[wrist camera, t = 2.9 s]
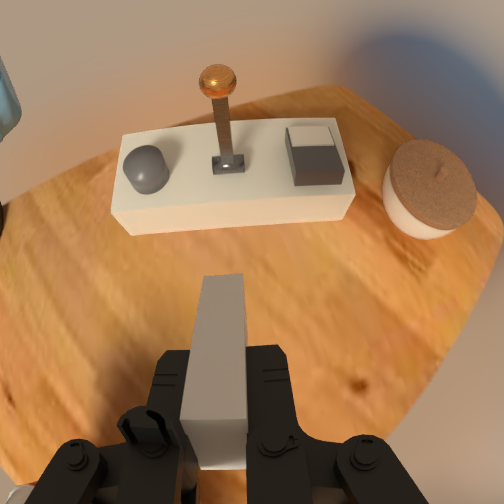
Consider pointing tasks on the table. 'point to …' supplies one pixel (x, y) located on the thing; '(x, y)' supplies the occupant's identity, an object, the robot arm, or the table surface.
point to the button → (146, 169)
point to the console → (227, 180)
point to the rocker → (313, 156)
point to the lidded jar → (427, 190)
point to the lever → (222, 116)
